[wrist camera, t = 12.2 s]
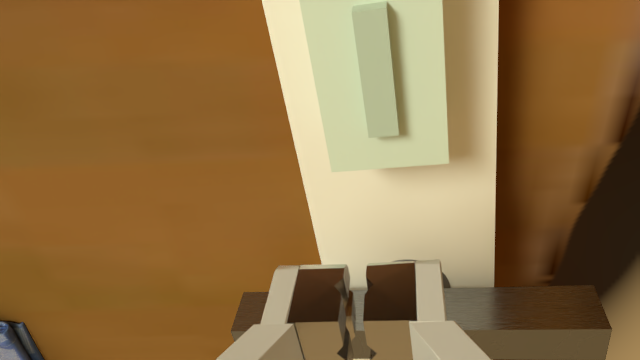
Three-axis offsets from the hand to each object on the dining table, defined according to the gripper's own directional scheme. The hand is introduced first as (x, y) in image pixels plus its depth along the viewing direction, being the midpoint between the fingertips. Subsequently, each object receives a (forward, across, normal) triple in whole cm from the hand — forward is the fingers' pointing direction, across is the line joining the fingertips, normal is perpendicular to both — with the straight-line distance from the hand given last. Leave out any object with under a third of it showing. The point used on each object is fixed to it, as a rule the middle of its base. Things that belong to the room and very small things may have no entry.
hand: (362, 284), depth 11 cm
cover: (+15, 0, 0) cm, 15 cm away
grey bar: (+14, 0, +16) cm, 21 cm away
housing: (+19, 0, +9) cm, 21 cm away
